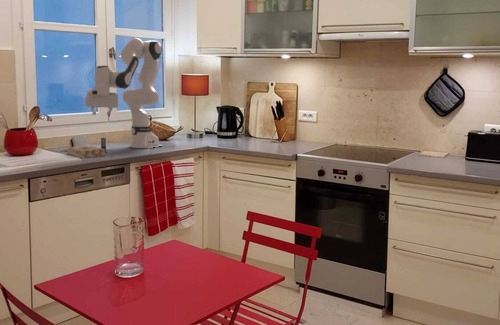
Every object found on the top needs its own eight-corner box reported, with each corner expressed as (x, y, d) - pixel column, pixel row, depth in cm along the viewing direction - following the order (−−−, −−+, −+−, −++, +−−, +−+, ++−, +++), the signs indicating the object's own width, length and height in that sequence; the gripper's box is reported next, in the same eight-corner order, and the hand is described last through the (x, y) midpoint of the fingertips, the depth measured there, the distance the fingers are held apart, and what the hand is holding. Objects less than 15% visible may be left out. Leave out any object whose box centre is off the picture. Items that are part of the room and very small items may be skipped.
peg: (104, 151, 347) (104, 137, 345) (106, 152, 345) (106, 138, 343) (100, 152, 345) (99, 137, 343) (102, 152, 343) (102, 138, 341)
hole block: (88, 152, 343) (88, 145, 343) (104, 155, 332) (104, 149, 331) (67, 153, 333) (67, 147, 333) (83, 157, 321) (83, 150, 321)
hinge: (78, 151, 346) (73, 135, 345) (71, 153, 347) (67, 137, 347) (92, 148, 362) (88, 133, 361) (86, 150, 363) (82, 135, 363)
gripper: (115, 92, 349) (115, 115, 350) (84, 91, 337) (83, 114, 338) (120, 93, 344) (119, 115, 345) (87, 91, 332) (87, 114, 333)
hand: (101, 114), depth 342 cm, fingers open, 8 cm apart
